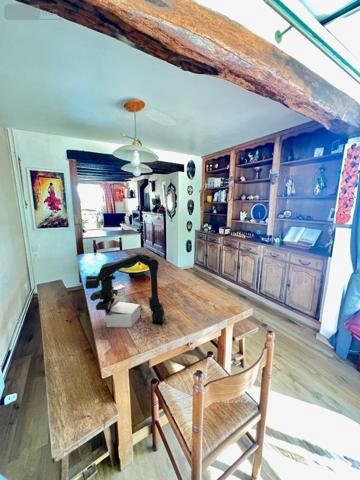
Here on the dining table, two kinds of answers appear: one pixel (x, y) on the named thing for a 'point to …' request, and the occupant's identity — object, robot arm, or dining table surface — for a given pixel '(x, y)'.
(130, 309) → the carton
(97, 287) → the robot arm
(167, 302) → the dining table surface
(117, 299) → the ink cartridge box
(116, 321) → the front flap
